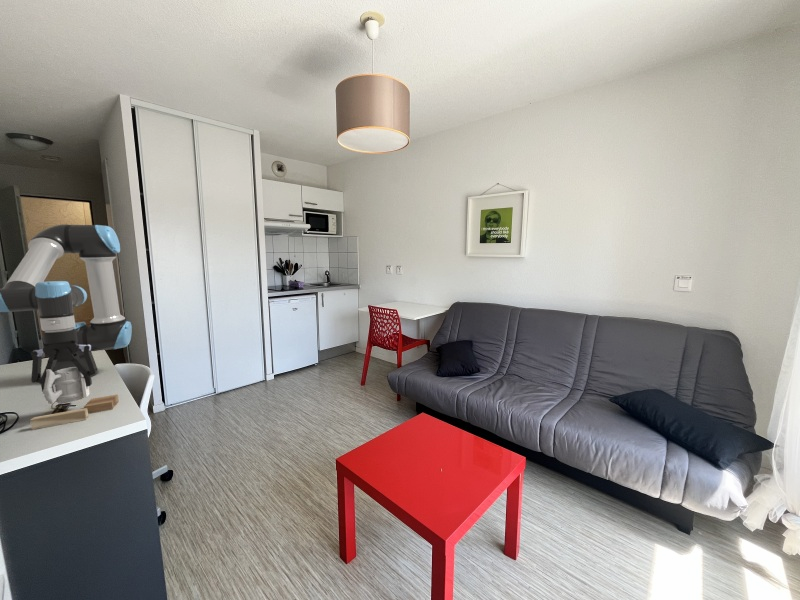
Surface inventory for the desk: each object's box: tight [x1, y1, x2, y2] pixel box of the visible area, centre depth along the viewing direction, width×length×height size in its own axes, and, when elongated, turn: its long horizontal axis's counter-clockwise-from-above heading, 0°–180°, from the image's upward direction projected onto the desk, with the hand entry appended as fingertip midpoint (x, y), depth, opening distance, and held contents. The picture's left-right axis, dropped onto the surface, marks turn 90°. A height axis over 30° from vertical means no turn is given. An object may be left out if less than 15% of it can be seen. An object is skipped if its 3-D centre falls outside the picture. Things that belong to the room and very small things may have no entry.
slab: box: [83, 394, 119, 415], centre depth 110 cm, size 7×7×3 cm
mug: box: [42, 367, 85, 405], centre depth 105 cm, size 8×12×12 cm, turn 2°
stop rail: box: [29, 407, 89, 430], centre depth 99 cm, size 2×12×3 cm, turn 118°
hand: (69, 398), depth 106 cm, fingers closed on mug, 8 cm apart
